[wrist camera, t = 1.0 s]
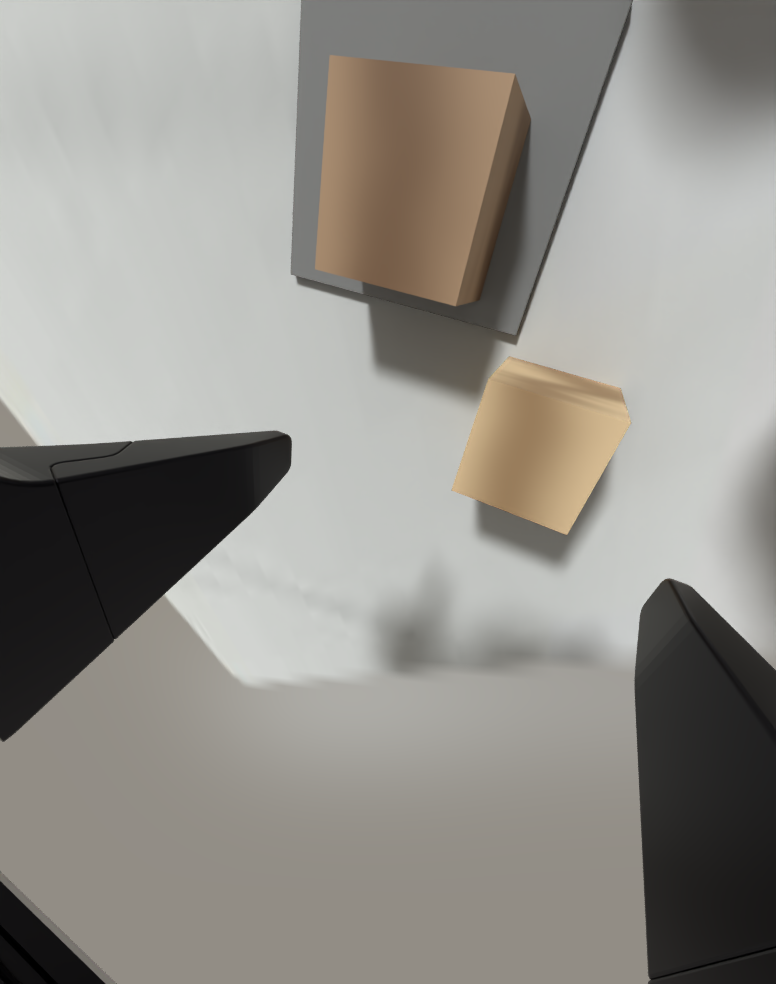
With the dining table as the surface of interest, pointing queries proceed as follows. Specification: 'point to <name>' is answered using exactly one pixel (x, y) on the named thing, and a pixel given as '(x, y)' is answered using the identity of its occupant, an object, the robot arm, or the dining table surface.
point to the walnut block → (417, 174)
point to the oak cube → (541, 442)
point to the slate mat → (479, 46)
